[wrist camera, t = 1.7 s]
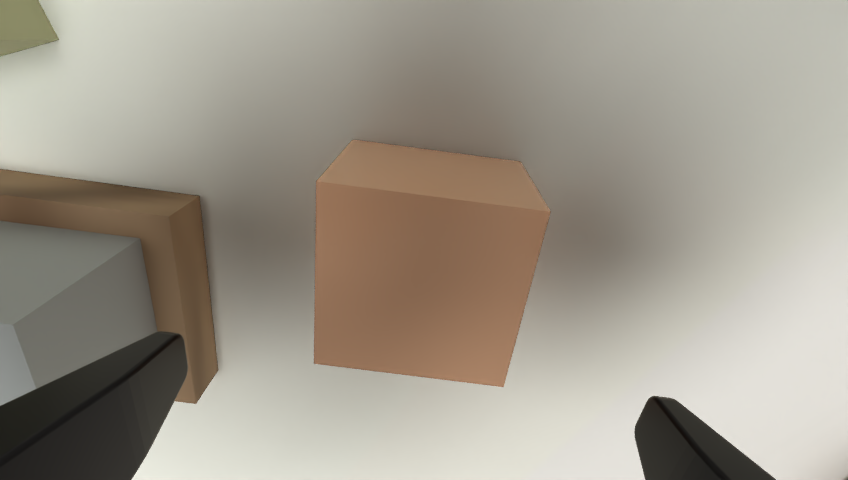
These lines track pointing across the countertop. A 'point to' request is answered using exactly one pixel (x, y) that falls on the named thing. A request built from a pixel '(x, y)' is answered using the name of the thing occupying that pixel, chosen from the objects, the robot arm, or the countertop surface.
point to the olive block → (23, 26)
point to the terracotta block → (424, 261)
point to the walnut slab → (161, 244)
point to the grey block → (66, 302)
